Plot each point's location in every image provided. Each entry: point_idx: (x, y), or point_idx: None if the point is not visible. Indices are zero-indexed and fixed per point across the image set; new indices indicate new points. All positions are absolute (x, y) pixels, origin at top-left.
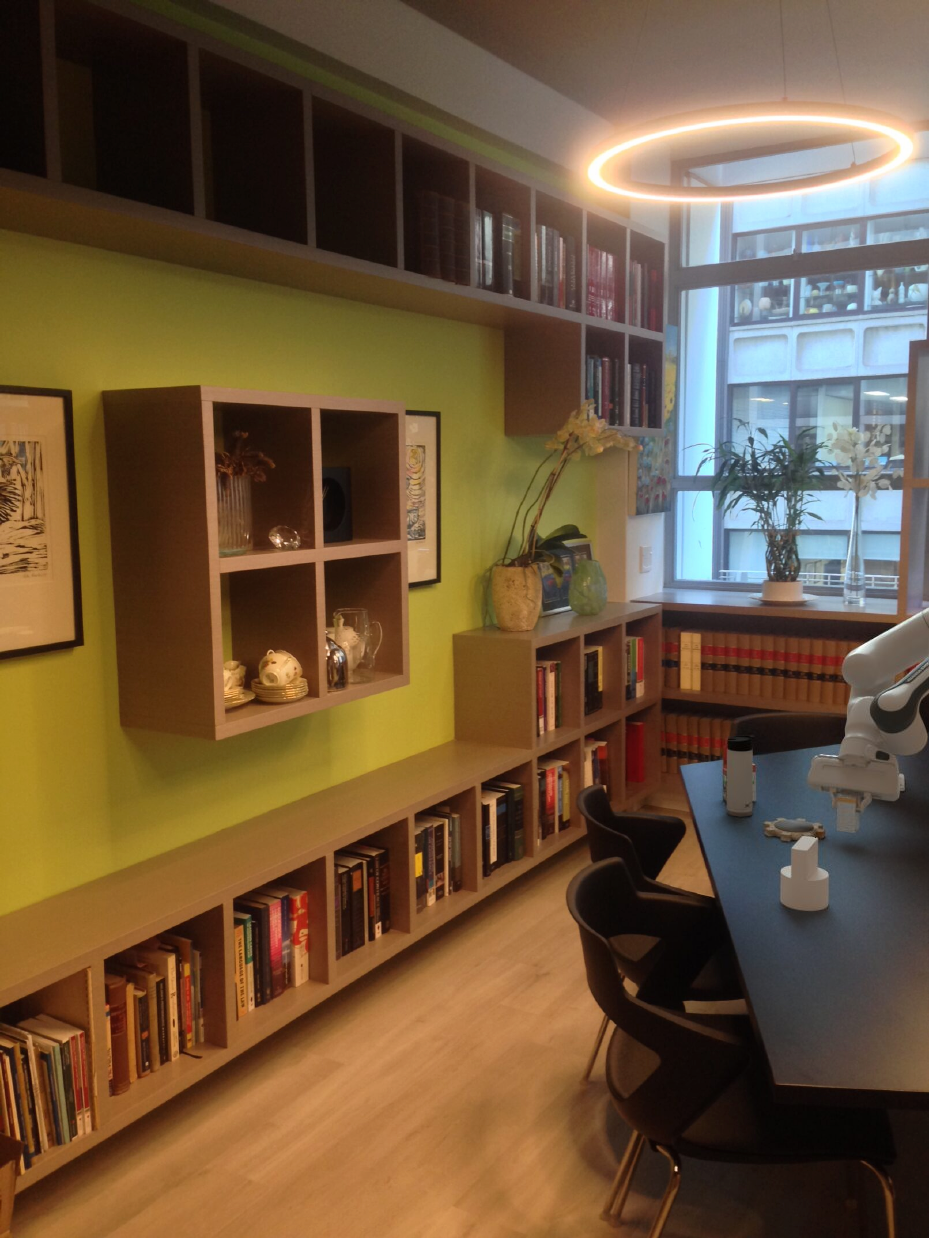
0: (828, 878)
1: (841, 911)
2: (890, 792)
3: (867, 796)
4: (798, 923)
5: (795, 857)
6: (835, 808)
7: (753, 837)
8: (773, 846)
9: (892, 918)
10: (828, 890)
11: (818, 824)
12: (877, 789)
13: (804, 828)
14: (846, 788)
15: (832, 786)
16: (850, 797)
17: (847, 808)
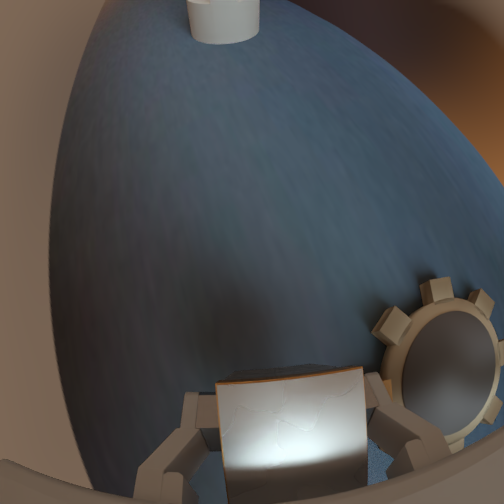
0: (187, 3)
1: (170, 32)
2: (7, 464)
3: (156, 472)
4: None
5: None
6: None
7: (485, 263)
8: (425, 222)
9: (108, 49)
10: (189, 19)
11: None
12: (72, 500)
13: (423, 366)
14: (338, 494)
15: (445, 456)
16: (267, 404)
17: (275, 374)
